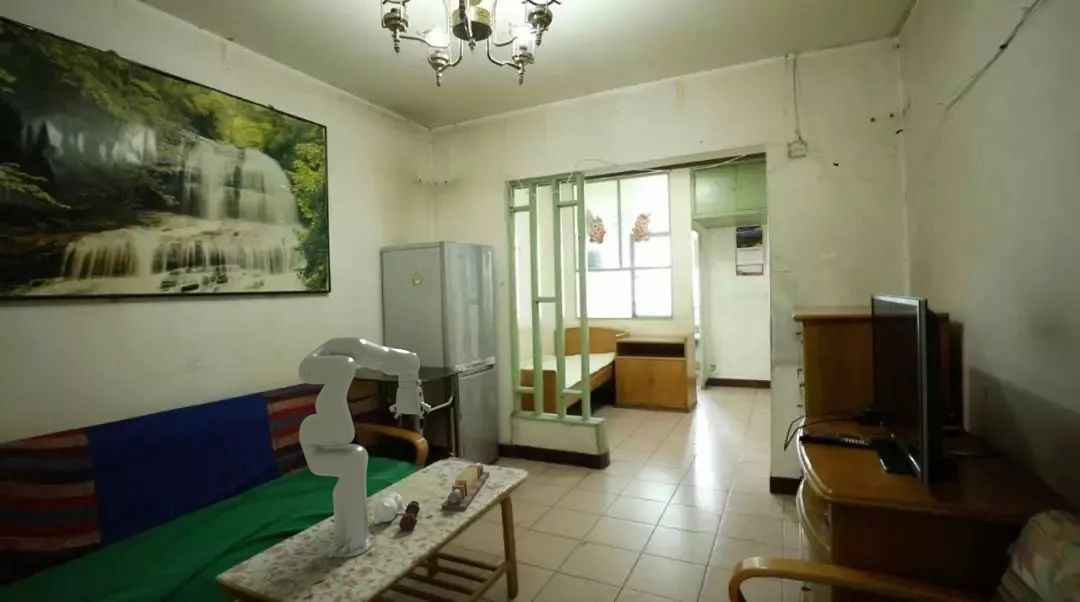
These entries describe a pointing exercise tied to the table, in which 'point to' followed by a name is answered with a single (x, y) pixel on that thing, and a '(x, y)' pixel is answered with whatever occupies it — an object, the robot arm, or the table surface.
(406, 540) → the table surface
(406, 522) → the bolt
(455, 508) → the shaft base
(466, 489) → the tan rectangular block
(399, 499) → the cat figurine
